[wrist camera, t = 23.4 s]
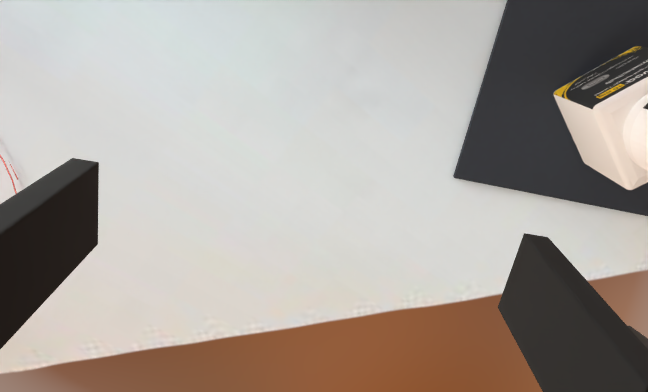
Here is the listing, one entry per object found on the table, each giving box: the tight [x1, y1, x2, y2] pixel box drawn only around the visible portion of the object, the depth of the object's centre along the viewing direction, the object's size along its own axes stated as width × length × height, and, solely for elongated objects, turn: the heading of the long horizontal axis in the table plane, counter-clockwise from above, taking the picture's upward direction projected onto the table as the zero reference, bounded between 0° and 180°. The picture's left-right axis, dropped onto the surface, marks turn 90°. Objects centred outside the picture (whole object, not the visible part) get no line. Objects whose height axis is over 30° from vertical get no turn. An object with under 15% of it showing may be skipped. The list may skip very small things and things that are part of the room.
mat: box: [454, 0, 648, 216], centre depth 42 cm, size 17×21×1 cm
